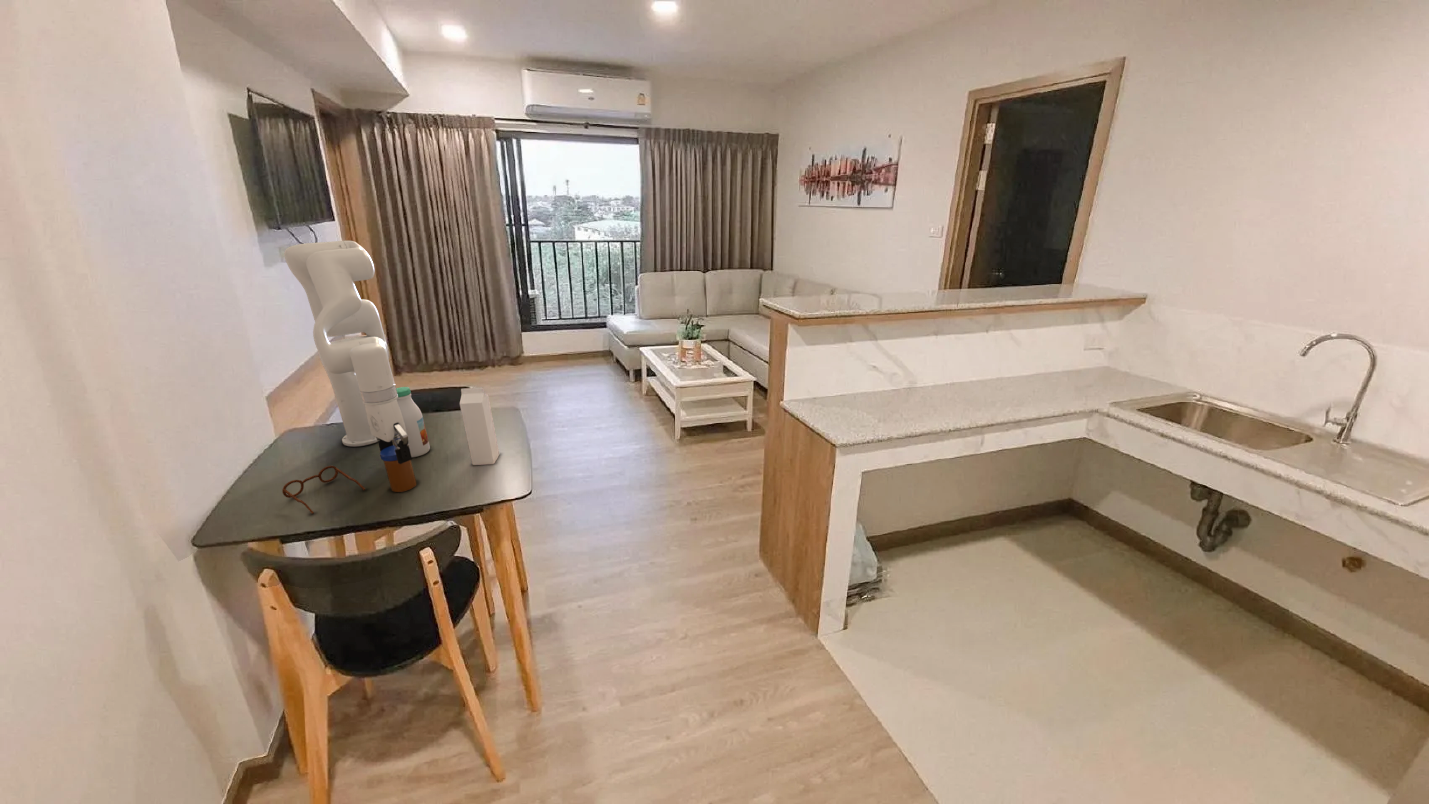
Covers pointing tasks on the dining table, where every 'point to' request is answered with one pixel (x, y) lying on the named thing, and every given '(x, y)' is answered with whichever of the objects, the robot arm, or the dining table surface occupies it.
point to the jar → (400, 475)
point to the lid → (388, 454)
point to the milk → (479, 426)
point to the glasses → (312, 478)
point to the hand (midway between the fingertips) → (396, 456)
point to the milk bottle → (413, 423)
